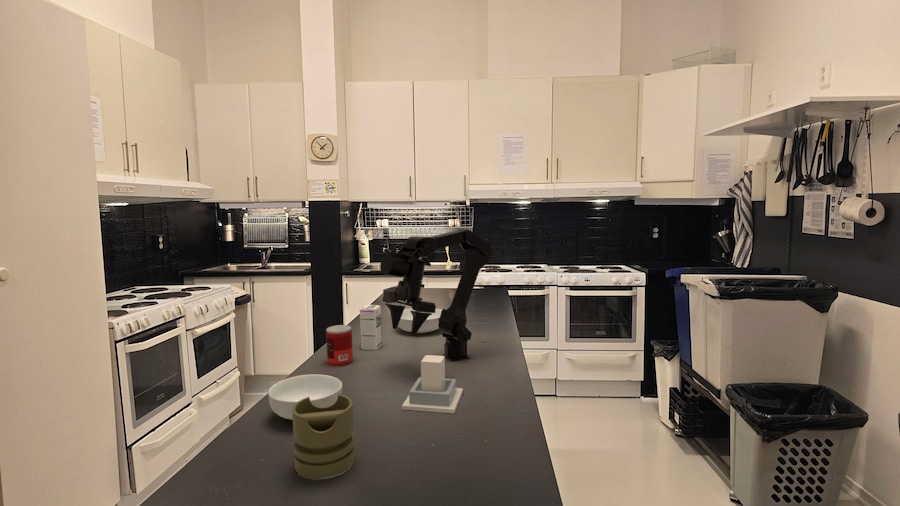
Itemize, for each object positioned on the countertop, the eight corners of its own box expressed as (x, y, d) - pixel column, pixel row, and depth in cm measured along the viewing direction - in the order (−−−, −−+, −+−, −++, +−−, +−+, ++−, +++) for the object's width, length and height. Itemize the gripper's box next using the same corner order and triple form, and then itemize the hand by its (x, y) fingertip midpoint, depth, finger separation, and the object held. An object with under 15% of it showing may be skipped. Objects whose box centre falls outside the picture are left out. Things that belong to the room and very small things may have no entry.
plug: (426, 392, 128) (425, 355, 126) (445, 393, 127) (444, 356, 125) (421, 400, 123) (420, 361, 121) (441, 401, 122) (440, 362, 121)
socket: (415, 388, 132) (415, 374, 132) (462, 392, 130) (462, 377, 129) (402, 409, 120) (401, 393, 119) (454, 413, 117) (454, 397, 117)
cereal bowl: (275, 437, 106) (273, 406, 106) (265, 408, 121) (263, 381, 120) (351, 420, 114) (350, 391, 113) (333, 395, 129) (332, 369, 128)
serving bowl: (457, 327, 193) (457, 310, 193) (427, 341, 176) (427, 322, 175) (414, 320, 204) (414, 304, 204) (382, 333, 187) (382, 315, 186)
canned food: (357, 359, 157) (356, 325, 156) (344, 367, 150) (342, 332, 148) (336, 356, 160) (335, 324, 158) (322, 364, 152) (321, 330, 151)
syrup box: (377, 350, 166) (375, 308, 164) (360, 349, 167) (359, 308, 165) (382, 345, 171) (381, 304, 169) (366, 344, 172) (365, 304, 171)
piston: (295, 396, 99) (352, 391, 101) (298, 452, 100) (354, 446, 103) (289, 421, 88) (353, 414, 90) (292, 484, 89) (355, 476, 92)
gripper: (372, 272, 145) (363, 324, 144) (410, 279, 131) (400, 337, 131) (402, 276, 152) (393, 326, 152) (441, 284, 139) (431, 339, 138)
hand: (403, 331), depth 143 cm, fingers open, 9 cm apart
